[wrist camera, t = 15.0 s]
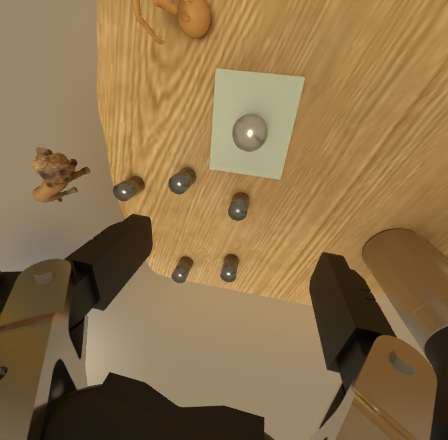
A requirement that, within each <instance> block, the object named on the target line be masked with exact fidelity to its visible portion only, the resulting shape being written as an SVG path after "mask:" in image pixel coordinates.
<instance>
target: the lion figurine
mask: <svg viewBox="0 0 448 440" xmlns="http://www.w3.org/2000/svg"><path fill="white" fill-rule="evenodd" d="M36 151H37V156H36V160H34V161H33V162H32V163H33V164H32V167H33V168H34V169H35V171H36V172H37V173H38V174H39V175H40V176H41V177H42V178H43V183H42V185H41V186H39V187H37V188H36V189H34V190H33V196H34V199H35V200H37V201H39V202H50V201H54V200H56V199H58V200H59V201H60V202H61V201H62V198H60V197H62V196H64V195H68V194H71V193H76V192H77V191H78V190H77V189H76V188H75V187H73V188H71V189H70V190H68V191H64V192H60V191H61V190H63V189H64V188H65V187H66V186H67V185H68V182H70V181H72V180H74V179H77V178H78V177H80V176H82V175H84V174H88V173H90V170H89V168H87V167H85V168H82V169H81V170H80V171H77V172H75V167H76V165H77V161H76V160H75V159H71V160H70V161H71V162H70V161H69V160H68V159H67V158H66V156H65V155H64V154H61V153H55V154H53V153H52V151H51V150H49V149H48V150H47V149H46V148H37V149H36Z"/></svg>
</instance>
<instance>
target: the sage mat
mask: <svg viewBox="0 0 448 440" xmlns="http://www.w3.org/2000/svg"><path fill="white" fill-rule="evenodd" d="M304 81H305V77H300V76H289V75H279V74H269V73H259V72H248V71H238V70H228V69H217V68H216V75H215V90H214V106H213V121H212V137H211V152H210V168H209V169H211V170H218V171H225V172H231V173H238V174H245V175H252V176H259V177H265V178H272V179H279V180H281V176H282V172H283V168H284V164H285V159H286V155H287V151H288V147H289V143H290V139H291V135H292V130H293V126H294V122H295V118H296V114H297V110H298V106H299V101H300V97H301V93H302V89H303V85H304ZM248 113H258V114H260V115H261V116H262V117H263V118H264V119H265V121H266V124H267V138H266V141H265V143H264V144H263V145H262V146H261V147H260V148H259V149H257V150H255V151H252V152H246V151H243V150H241V149H239V148H238V147H237V146H236V144H235V143H234V141H233V137H232V130H233V126H234V124H235V122H236V121H237V120H238V119H239V118H240V117H242V116H243V115H246V114H248Z"/></svg>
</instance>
